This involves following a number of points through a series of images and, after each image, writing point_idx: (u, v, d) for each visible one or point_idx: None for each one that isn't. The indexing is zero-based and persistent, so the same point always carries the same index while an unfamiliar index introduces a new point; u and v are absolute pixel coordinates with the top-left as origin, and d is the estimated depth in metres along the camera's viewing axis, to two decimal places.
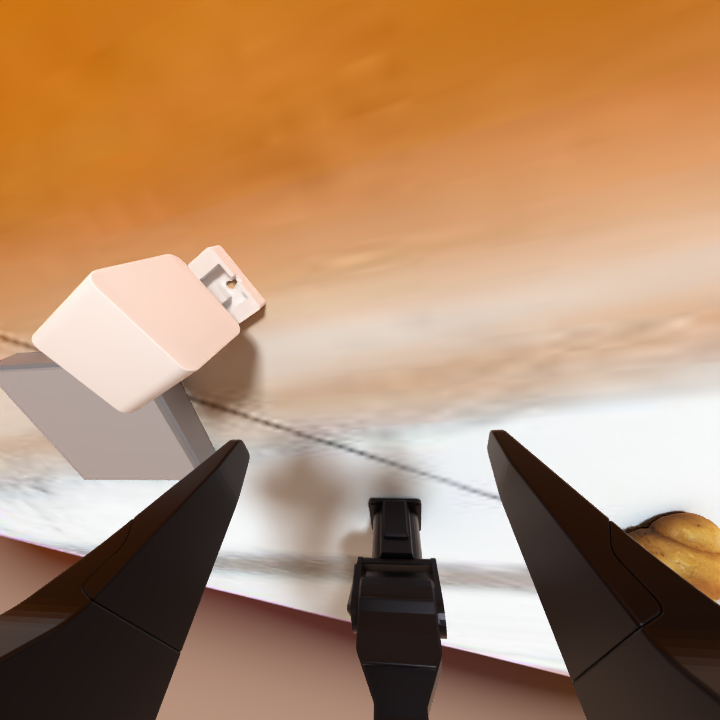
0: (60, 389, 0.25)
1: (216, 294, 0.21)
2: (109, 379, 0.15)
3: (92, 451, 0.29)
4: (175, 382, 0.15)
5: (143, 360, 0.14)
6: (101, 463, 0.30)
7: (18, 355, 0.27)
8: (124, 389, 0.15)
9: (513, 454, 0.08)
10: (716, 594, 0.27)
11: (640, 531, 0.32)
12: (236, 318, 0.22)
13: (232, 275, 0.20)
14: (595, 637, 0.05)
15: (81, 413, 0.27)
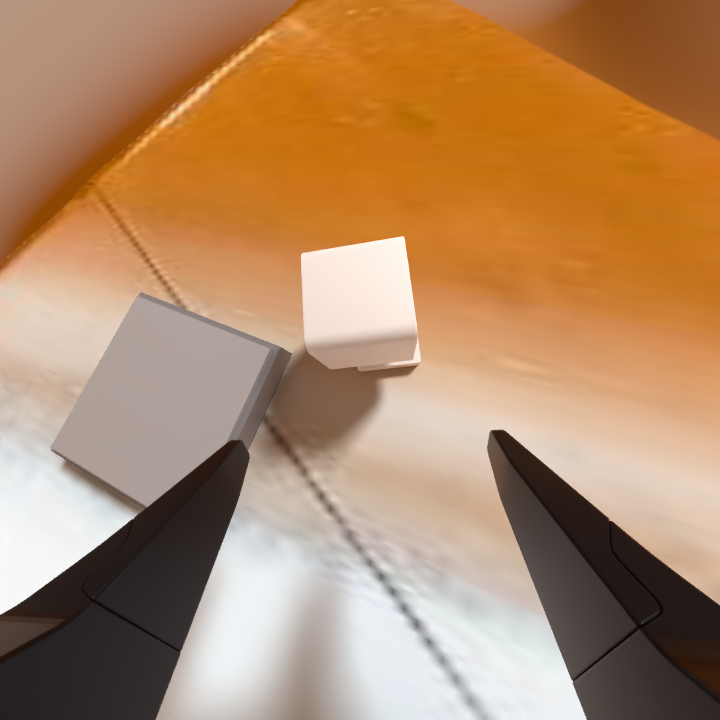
0: (176, 337, 0.24)
1: None
2: (332, 307, 0.15)
3: (113, 415, 0.23)
4: (388, 339, 0.14)
5: (385, 304, 0.14)
6: (100, 436, 0.23)
7: None
8: (336, 321, 0.15)
9: (513, 454, 0.08)
10: None
11: None
12: None
13: None
14: (595, 637, 0.05)
15: (163, 368, 0.24)
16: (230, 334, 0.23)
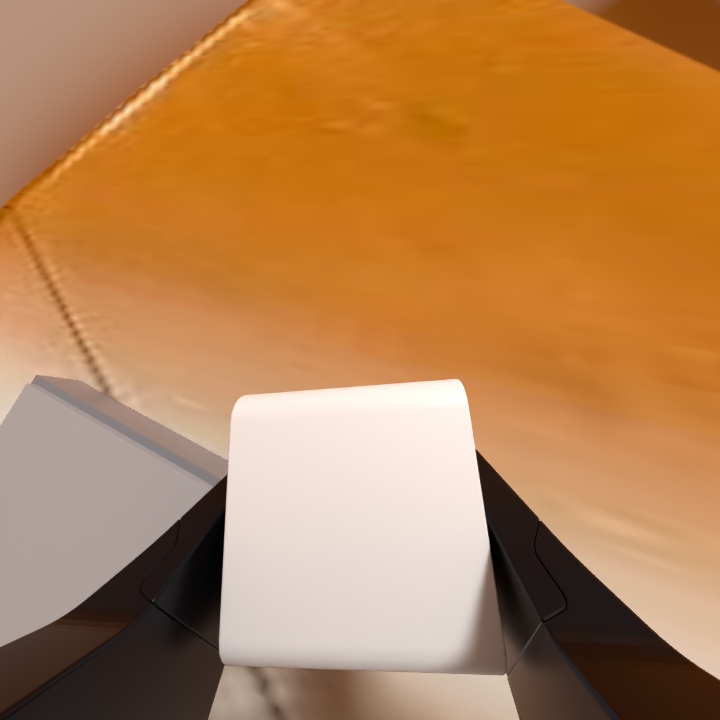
0: (73, 456, 0.16)
1: None
2: (293, 564, 0.06)
3: None
4: (428, 671, 0.06)
5: (423, 579, 0.06)
6: None
7: (78, 383, 0.20)
8: (300, 609, 0.06)
9: None
10: None
11: None
12: None
13: None
14: (517, 633, 0.05)
15: (48, 508, 0.15)
16: (152, 459, 0.15)
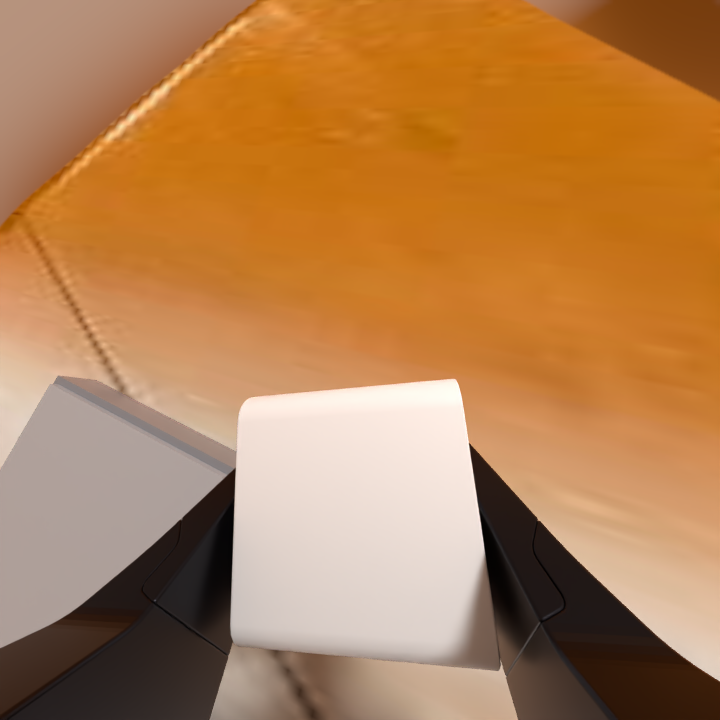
0: (98, 450, 0.17)
1: None
2: (296, 556, 0.07)
3: (5, 566, 0.16)
4: (424, 662, 0.06)
5: (418, 575, 0.06)
6: None
7: (96, 383, 0.21)
8: (302, 597, 0.06)
9: None
10: None
11: None
12: None
13: None
14: (516, 633, 0.05)
15: (77, 497, 0.17)
16: (171, 451, 0.16)
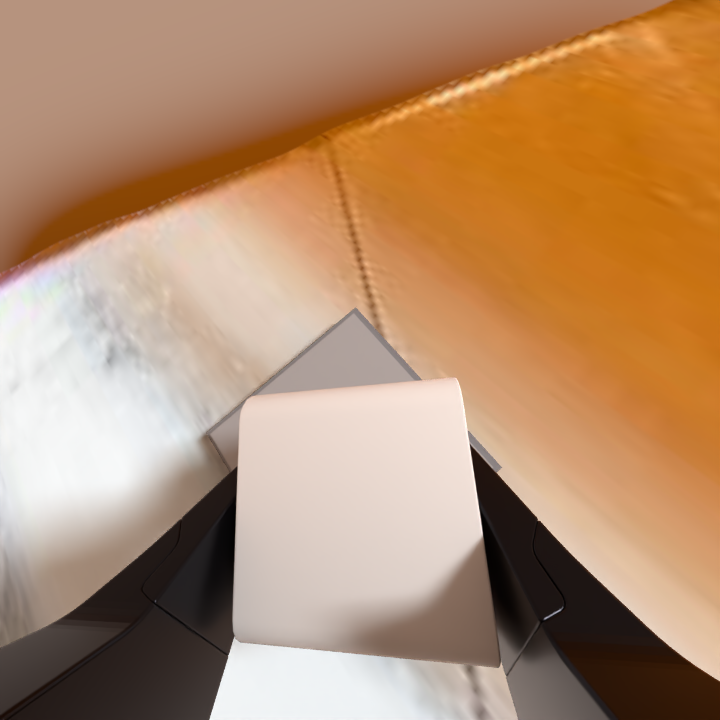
0: None
1: None
2: (297, 553, 0.07)
3: None
4: (424, 659, 0.06)
5: (418, 572, 0.06)
6: None
7: None
8: (303, 594, 0.06)
9: None
10: None
11: None
12: None
13: None
14: (516, 633, 0.05)
15: None
16: None
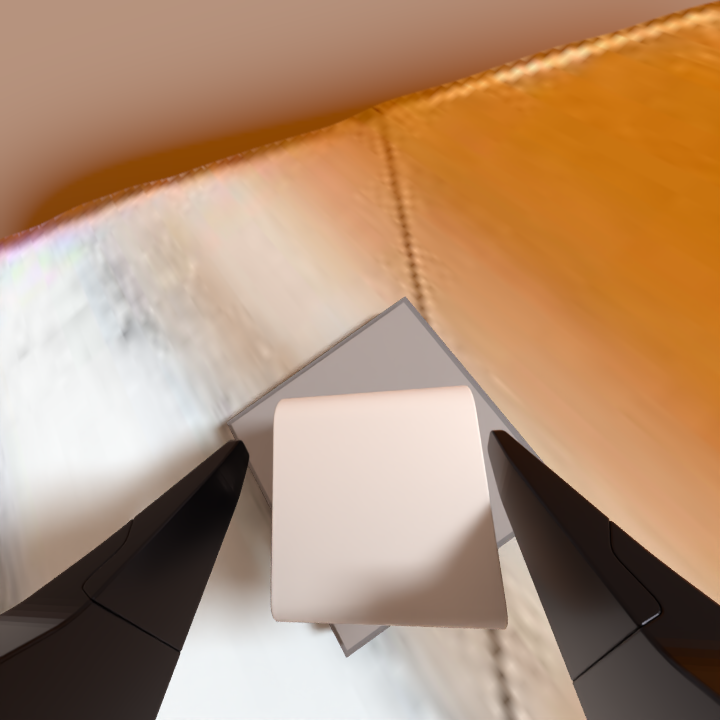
0: None
1: None
2: (330, 540, 0.07)
3: None
4: (443, 626, 0.07)
5: (438, 552, 0.07)
6: None
7: None
8: (337, 575, 0.07)
9: (513, 454, 0.08)
10: None
11: None
12: None
13: None
14: (595, 637, 0.05)
15: None
16: (511, 435, 0.16)
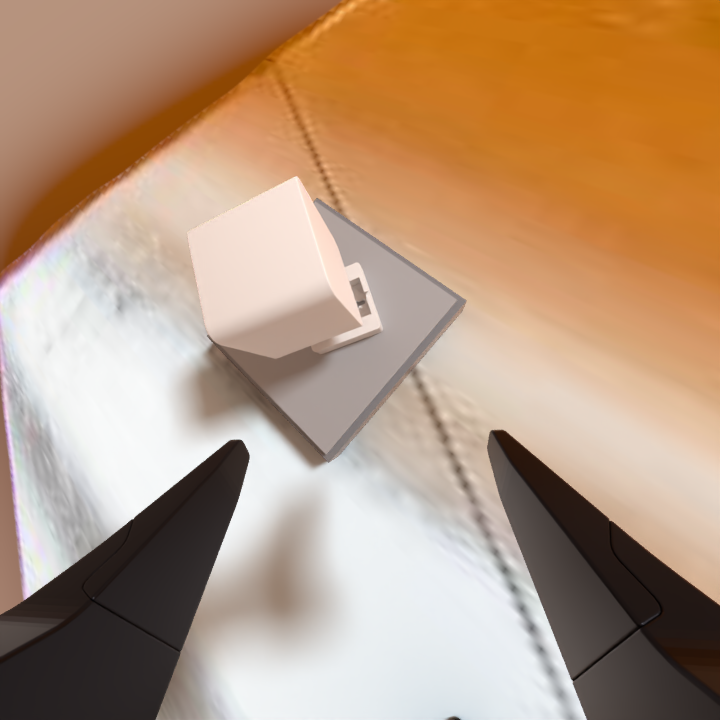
0: (351, 258, 0.22)
1: None
2: (230, 282, 0.12)
3: None
4: (300, 304, 0.12)
5: (288, 263, 0.12)
6: None
7: None
8: (236, 298, 0.12)
9: (513, 454, 0.08)
10: None
11: None
12: (348, 333, 0.20)
13: (366, 289, 0.20)
14: (595, 637, 0.05)
15: None
16: (412, 270, 0.21)
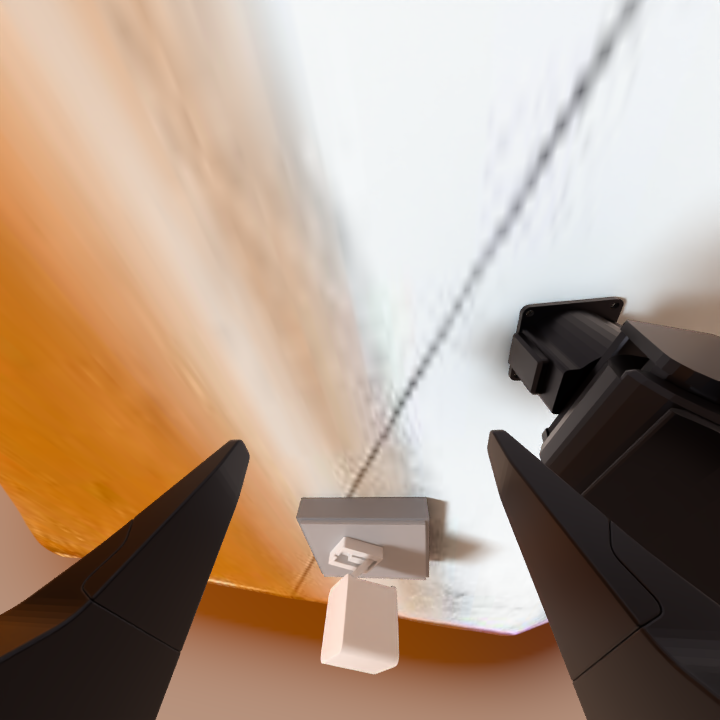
0: None
1: (352, 559, 0.35)
2: (373, 665, 0.27)
3: (390, 565, 0.37)
4: (356, 650, 0.26)
5: (347, 659, 0.26)
6: (405, 566, 0.37)
7: None
8: (375, 664, 0.27)
9: (513, 454, 0.08)
10: None
11: None
12: (360, 553, 0.33)
13: (335, 557, 0.34)
14: (595, 637, 0.05)
15: None
16: (308, 540, 0.35)
